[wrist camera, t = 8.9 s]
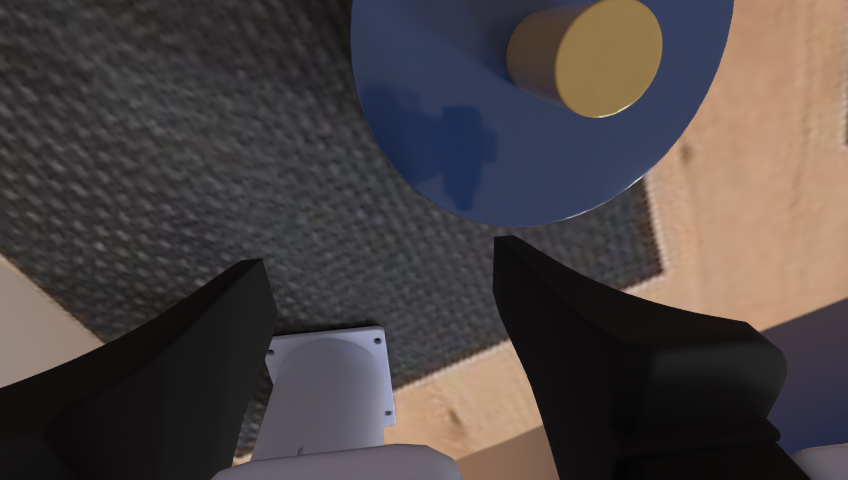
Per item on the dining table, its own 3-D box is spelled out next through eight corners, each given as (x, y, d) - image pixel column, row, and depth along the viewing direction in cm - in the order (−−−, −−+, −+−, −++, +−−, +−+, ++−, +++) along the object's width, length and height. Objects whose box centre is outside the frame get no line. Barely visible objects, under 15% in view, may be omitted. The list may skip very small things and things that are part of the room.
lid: (664, 201, 17) (771, 265, 13) (374, 228, 17) (371, 306, 12) (761, -204, 11) (1031, -374, 7) (321, -188, 11) (272, -365, 6)
